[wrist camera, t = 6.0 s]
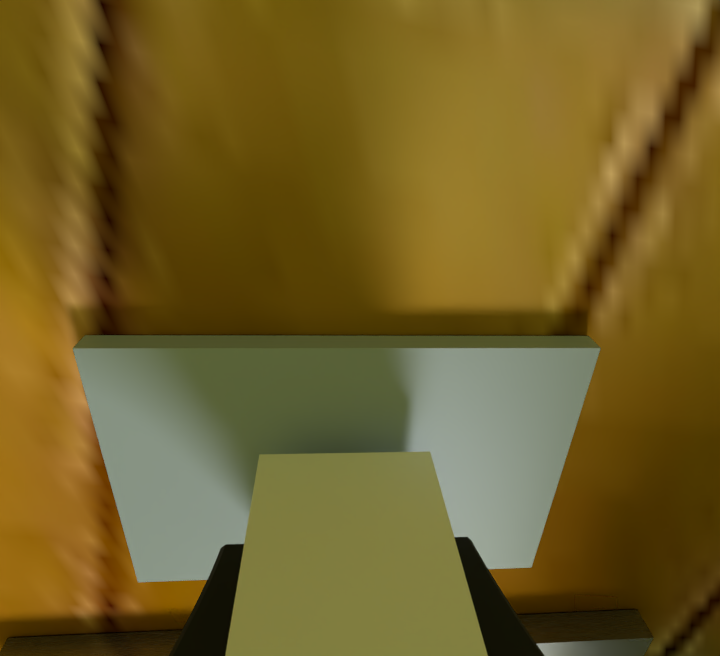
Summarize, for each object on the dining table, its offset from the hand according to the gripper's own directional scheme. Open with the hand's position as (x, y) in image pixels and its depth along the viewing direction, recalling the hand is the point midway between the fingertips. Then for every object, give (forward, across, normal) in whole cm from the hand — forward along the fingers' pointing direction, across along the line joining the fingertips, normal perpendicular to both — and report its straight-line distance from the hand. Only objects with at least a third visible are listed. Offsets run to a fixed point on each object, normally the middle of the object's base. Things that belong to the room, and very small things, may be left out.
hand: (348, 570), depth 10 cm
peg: (+2, 0, 0) cm, 2 cm away
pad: (+3, 0, 0) cm, 3 cm away
